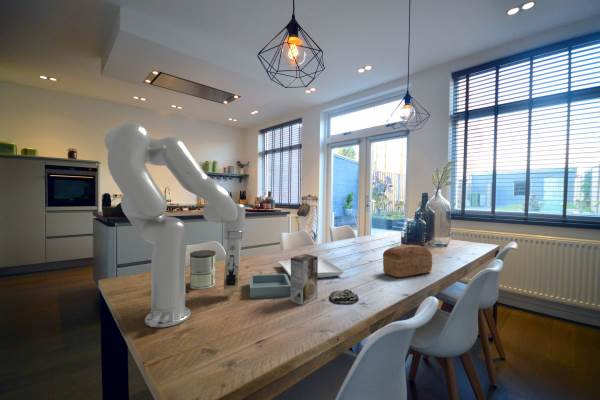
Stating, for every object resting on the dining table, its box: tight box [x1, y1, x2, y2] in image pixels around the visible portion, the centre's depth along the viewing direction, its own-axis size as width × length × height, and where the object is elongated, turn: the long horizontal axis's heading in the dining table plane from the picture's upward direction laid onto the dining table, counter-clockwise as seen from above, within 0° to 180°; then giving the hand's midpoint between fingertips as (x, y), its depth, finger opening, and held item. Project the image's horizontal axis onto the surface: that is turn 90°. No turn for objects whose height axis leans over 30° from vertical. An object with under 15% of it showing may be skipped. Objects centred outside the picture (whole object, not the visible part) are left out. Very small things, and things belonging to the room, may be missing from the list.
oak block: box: [222, 263, 240, 291], centre depth 99 cm, size 5×5×9 cm
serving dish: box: [249, 273, 291, 299], centre depth 107 cm, size 16×16×4 cm
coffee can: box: [189, 249, 216, 290], centre depth 111 cm, size 10×10×14 cm
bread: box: [382, 244, 433, 278], centre depth 134 cm, size 12×28×14 cm, turn 117°
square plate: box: [277, 258, 345, 279], centre depth 134 cm, size 27×27×4 cm
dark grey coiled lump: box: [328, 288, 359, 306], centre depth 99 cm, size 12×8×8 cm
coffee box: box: [289, 253, 319, 306], centre depth 97 cm, size 9×6×16 cm
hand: (231, 282), depth 99 cm, fingers closed on oak block, 5 cm apart
